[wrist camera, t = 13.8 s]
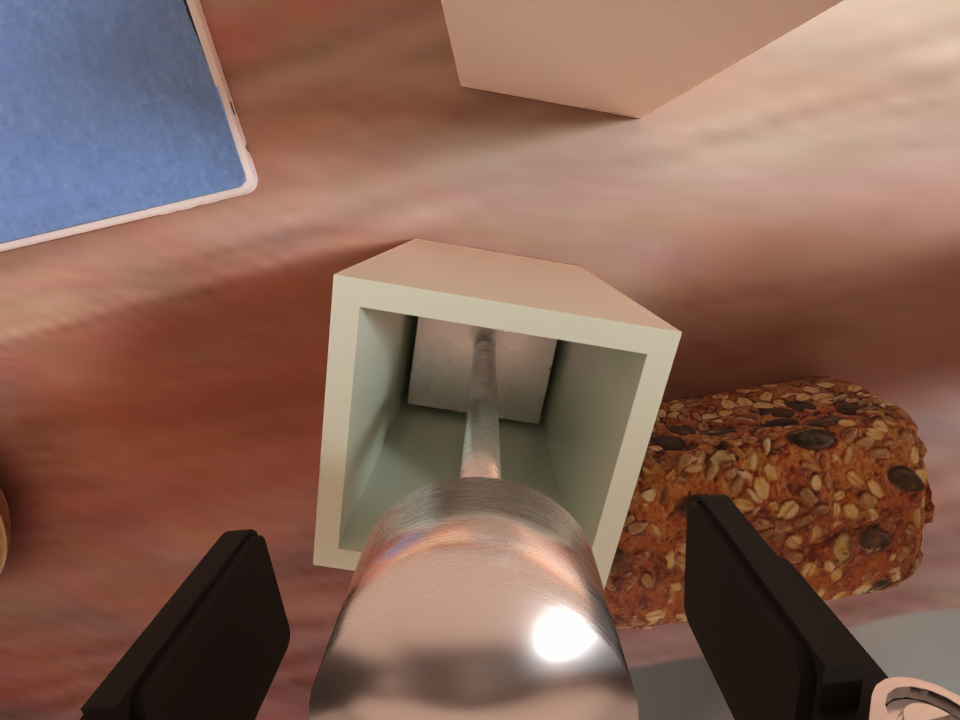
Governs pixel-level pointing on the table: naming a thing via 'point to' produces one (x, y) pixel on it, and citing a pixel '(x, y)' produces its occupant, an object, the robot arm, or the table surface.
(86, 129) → the tablet computer
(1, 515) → the plant saucer
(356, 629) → the silver rod piece
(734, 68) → the table surface
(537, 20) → the press white
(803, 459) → the bread
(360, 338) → the press sage
